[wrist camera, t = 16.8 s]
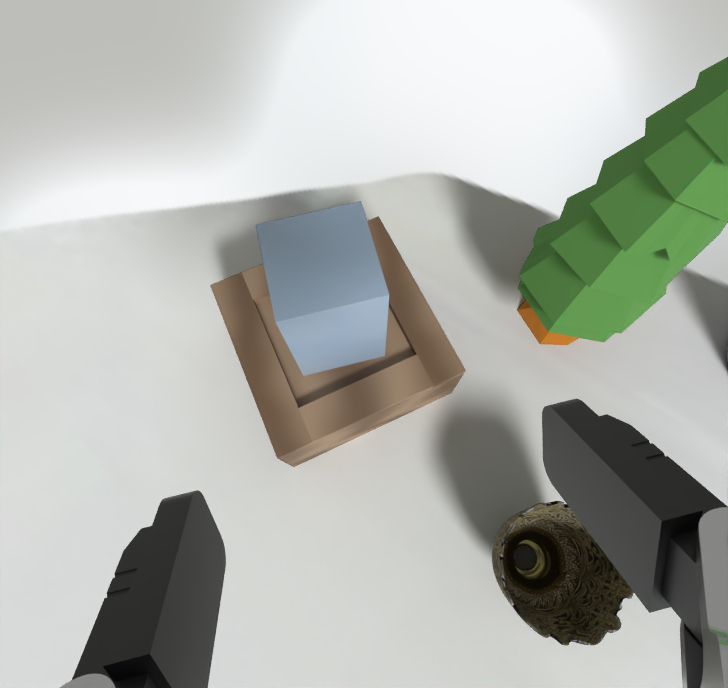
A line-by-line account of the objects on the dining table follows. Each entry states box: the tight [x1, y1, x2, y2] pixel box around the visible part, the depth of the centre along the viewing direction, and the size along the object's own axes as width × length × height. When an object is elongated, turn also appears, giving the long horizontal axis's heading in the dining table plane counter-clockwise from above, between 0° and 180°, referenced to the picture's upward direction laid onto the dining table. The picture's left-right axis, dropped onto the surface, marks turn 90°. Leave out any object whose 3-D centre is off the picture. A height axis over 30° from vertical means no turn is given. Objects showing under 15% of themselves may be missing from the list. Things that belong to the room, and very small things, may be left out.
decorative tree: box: [518, 57, 728, 345], centre depth 26 cm, size 10×9×30 cm
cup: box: [492, 501, 634, 645], centre depth 30 cm, size 8×7×8 cm
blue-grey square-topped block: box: [256, 201, 389, 376], centre depth 29 cm, size 6×6×10 cm
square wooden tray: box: [210, 216, 466, 467], centre depth 36 cm, size 14×14×7 cm
